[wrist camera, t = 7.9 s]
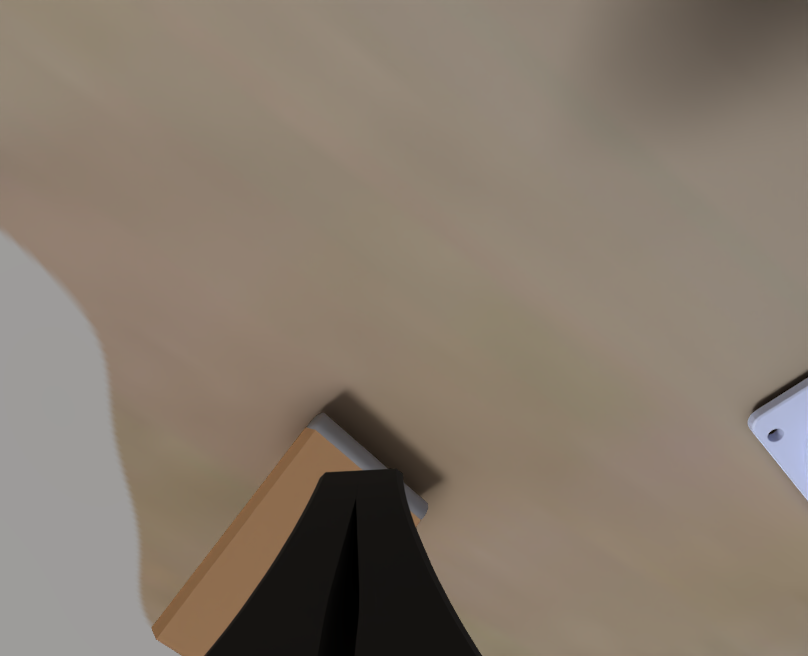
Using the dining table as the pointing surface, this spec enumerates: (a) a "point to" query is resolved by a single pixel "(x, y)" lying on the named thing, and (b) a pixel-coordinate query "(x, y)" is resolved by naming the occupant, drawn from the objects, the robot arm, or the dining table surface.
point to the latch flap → (261, 537)
